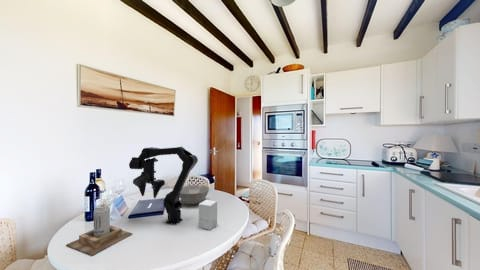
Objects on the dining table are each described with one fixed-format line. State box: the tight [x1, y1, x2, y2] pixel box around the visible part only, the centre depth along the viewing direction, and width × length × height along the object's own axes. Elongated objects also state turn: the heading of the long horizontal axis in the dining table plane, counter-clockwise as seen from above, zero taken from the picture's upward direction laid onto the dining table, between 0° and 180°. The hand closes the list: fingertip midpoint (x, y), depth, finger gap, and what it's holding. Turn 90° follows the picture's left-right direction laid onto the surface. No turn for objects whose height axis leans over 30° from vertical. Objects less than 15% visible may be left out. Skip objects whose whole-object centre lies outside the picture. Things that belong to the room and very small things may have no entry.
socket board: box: [65, 225, 134, 257], centre depth 89 cm, size 18×18×4 cm
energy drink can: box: [93, 203, 111, 238], centre depth 89 cm, size 6×6×15 cm
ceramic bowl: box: [179, 184, 210, 205], centre depth 136 cm, size 22×23×10 cm
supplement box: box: [198, 199, 218, 231], centre depth 103 cm, size 7×7×13 cm
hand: (148, 196), depth 109 cm, fingers open, 9 cm apart
